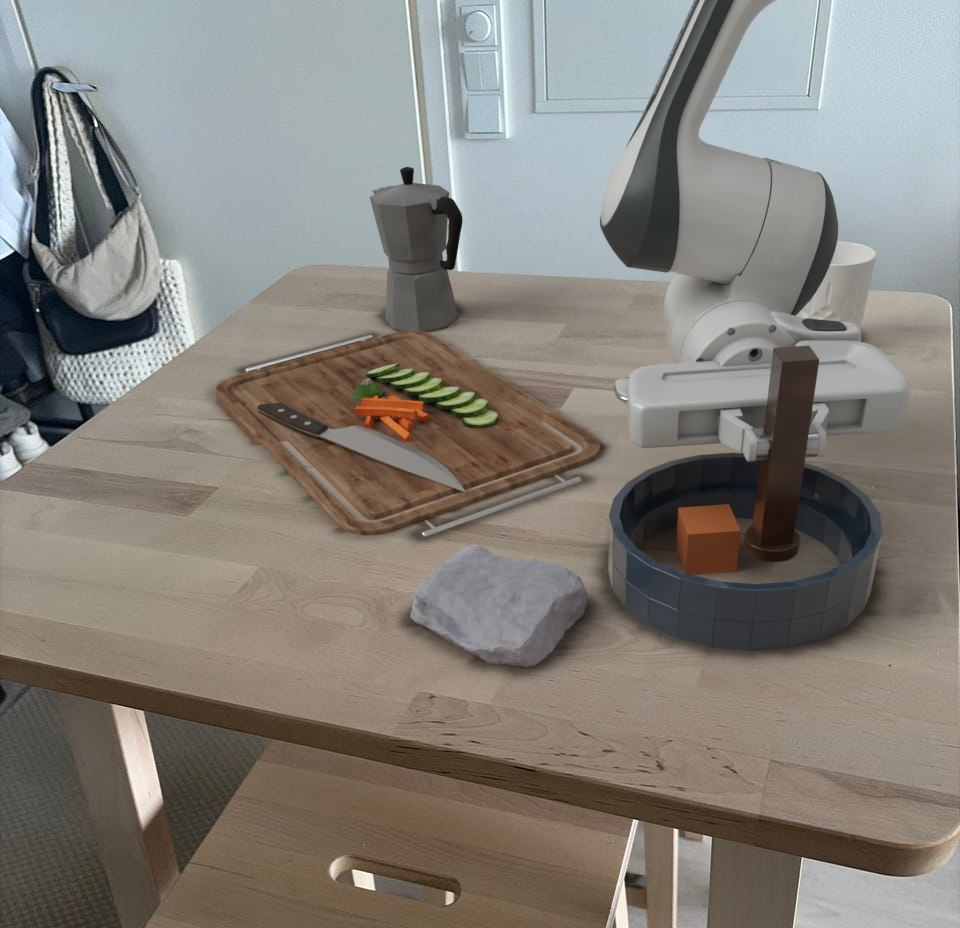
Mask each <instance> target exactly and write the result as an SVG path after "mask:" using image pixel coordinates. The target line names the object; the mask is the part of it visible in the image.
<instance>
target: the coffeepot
mask: <svg viewBox="0 0 960 928" xmlns="http://www.w3.org/2000/svg"><path fill="white" fill-rule="evenodd" d="M414 172H415V168H414V167H410V166H405V167H404V166H403V168H400V169H399V173H400V176H401V180H402V182H403V183H401V184H396V185H388V186H385V187H384V186H382V187H379V188H377V189H373V190H372V193H373V194H372V195H371V196H369V200H370V205H371V209H372V212H373V215H374V216H373V217H374V219H375V223H376V228H377V231H378V236H379V237H380V238H379V239H380V242H381V245H382V250H383V253H384V254H385V256H386V257H387V258H388V259H387V260H388V270H387V273H386V291H385V292H386V293H385V294H386V295H385V298H386V299H385V315H384V316H385V317H384V319H385V321H386V323H387V325H388V326H389V327H390V328H391V329H393V330H395V331H396V332H400V331H410V330H417V331H425V332H427V333H430V332H434V331H438V330H441V329H444V328H445V329H446V328H447V327H449V326H451V325H452V324H453V323H454V322H455V321H456V320H457V318H458V317H459V312H458V308H457V307H458V306H457V304H456V300H455V295H454V291H453V287H452V284H451V280H450V276H449V272H448V271H453V270H454V269H455V268H456V263H457V258H458V253H459V252H458V251H459V246H460V238H461V232H462V229H463V223H464V222H463V220H464V219H463V215H462V212H461V210H460V208H459V207H458V204H457V203H456V202H455V199H453V198H451V197H450V191H448V190H447V189H445V188H444V187H443V186H441V185H438V184H427V183H418V182H414V174H415V173H414ZM445 251H446V260H444V254H443V253H444V252H445Z"/></svg>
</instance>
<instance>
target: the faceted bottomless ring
mask: <svg viewBox="0 0 960 928" xmlns="http://www.w3.org/2000/svg"><path fill="white" fill-rule="evenodd" d="M759 467H760V461H747V460H746V458H745V456H744V454H743V452H722V453H706V454H697V455H692V456H687V457H682V458H678V459H673V460H670V461H669V460H668V461H666V462H664V463H661V464H659V465H656V466H653V467H650V468H648V469H646V470H644V471H642V472H641V473H640V474H638V475H636V476H635V477H633V478H632V479H630V480H629V481H627V482H626V483H624V485H623V486H622V488H621V489H620V490H619V491H618V492H617V494H616V495H615V496H614V497H613V498H612V502H611V506H610V510H609V513H608V563H607V564H608V568H607V569H608V571H607V573H608V576H609V581H610V585H611V590H612V592H613V593H614V595H616V597H617V598H618V600H619V601H620V603H621V604H622V606H623V607H624V608H625V609H626V610H627V611H628V612H629V613H631V614H632V615H634V616H635V617H636V618H637V619H639V620H640V621H642V622H643V623H644V624H646V625H647V626H649V627H651V628H653V629H656V630H658V631H660V632H662V633H665V634H666V635H668V636H670V637H673V638H675V639H678V640H682V641H684V642H690V643H693V644H698V645H701V646H705V647H710V648H714V649H715V648H716V649H725V650H737V651H738V650H739V651H748V652H749V651H752V652H753V651H767V650H781V649H782V650H783V649H790V648H794V647H798V646H801V645H805V644H810V643H813V642H817V641H820V640H823V639H824V638H826V637H828V636H831V635H832V634H835V633H837V632H839V631H841V630H842V629H845V628H846V627H847V626H849V625H850V623H852V622H853V621H854V620H855V619H856V618H858V616H859V615H860V614H861V613H862V612H863V611H864V610H865V608H866V605H867V602H868V600H869V598H870V596H871V593H872V589H873V583H874V578H875V574H876V569H877V564H878V559H879V555H880V549H881V543H882V539H883V534H884V531H883V523H882V522H883V521H882V515H881V513H880V511H879V510H878V508H877V507H876V505H875V503H874V502H873V501H872V499H871V498H870V497H869V495H867V494H866V493H865V492H863V490H861V489H860V488H859V487H857V486H856V484H854V483H852V482H851V481H850V480H848V479H846V478H844V477H842V476H840V475H838V474H836V473H834V472H832V471H830V470H829V469H826V468H823V467H820V466H818V465H817V466H816V465H814V464H810V463H807V462H805V463H804V469H803V476H802V483H801V490H800V497H799V504H798V511H797V517H796V524H795V530H796V531H797V532H798V531H799V532H801V533H804V534H805V535H807V536H809V537H811V538H812V539H814V540H816V541H817V542H818V543H821V544H822V545H824V546H825V547H826V548H827V549H828V550H829V551H830V552H832V554H834V556H836V557H837V559H838V561H839V563H840V564H841V565H838V566H837V567H835V568H832V569H830V570H828V571H826V572H824V573H821V574H817V575H813V576H809V577H805V578H800V579H797V580H792V581H781V582H767V583H765V582H764V583H748V582H747V583H746V582H734V581H733V582H732V581H720V580H716V579H711V578H707V577H703V576H698V575H690V574H685V573H684V571H681V570H678V569H676V568H673V567H671V566H668V565H666V564H663V563H661V562H658V561H657V560H655V559H654V558H652V557H651V556H649V555H648V554H646V553H645V552H643V551H642V550H641V548H642V546H643V544H645V543H646V542H648V541H649V540H650V539H652V538H653V537H654V536H657V534H659V533H661V532H663V531H666V530H668V529H671V528H673V527H675V526H676V527H677V523H678V508H682V507H696V506H710V505H724V504H729V505H730V507H731V510H732V512H733V514H734V516H735V519H749V520H750V519H751V520H753V519H754V510H755V502H756V493H757V484H758V476H759Z"/></svg>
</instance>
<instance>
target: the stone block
mask: <svg viewBox="0 0 960 928" xmlns="http://www.w3.org/2000/svg"><path fill="white" fill-rule="evenodd" d="M588 596H589V595H588V590H587V588H586V587H585V585H584V582H583V580H582V579H581V577H580V575H579V574H577V572H575V571H573V570H571V569H569V568H566V567H565V566H564V565H562V564H557V563H554V562H546V561H543V560H537V559H526V560H515V559H514V560H513V559H509V558H507V557H505V556H503V555H499V554H495V553H494V552H491V551H490V550H489V549H487V548H486V547H484V545H480V544H471V545H468V546H466V547H465V548H462V549H461V550H460V551H458V552H457V553H454V554H452V555H451V556H450V557H449V558H447V559H446V560H445V561H444V562H442V563H441V564H440V565H439V566H437V568H435V570H433V571H432V572H431V573H430V574H429V575H428V576H426V577H425V579H424V580H423V581H422V583H421V584H420V585H419V587H418V588H417V589H416V590H415V592H414V593H413V595H412V597H411V608H412V609H411V613H410V614H409V616H410V619H411V620H412V622H414V623H415V624H418V625H420V626H422V627H425V628H427V629H429V630H430V632H432V633H434V634H435V635H437V636H440V637H441V638H442V639H445V641H446V642H447V641H448V642H449V643H450V644H451V645H454V646H455V647H457V648H459V649H461V650H464V651H465V652H466V653H468V654H470V655H473V656H474V657H478V658H479V659H480V660H483V661H485V662H486V663H487V664H495V665H496V664H497V665H498V664H499V665H501V664H502V665H508V666H514V667H523V668H531V667H534V666H536V665H538V664H539V663H540V662H542V661H543V660H545V659H546V658H547V657H548V655H549V654H550V653H552V652H553V651H554V650H555V649H556V646H557V645H558V643H559V642H560V640H561V639H563V637H564V636H565V633H566V631H568V630H569V629H570V628H571V627H572V626H573V625H574V624H575V623H576V622H577V621H578V620H579V619H580V618H582V617H583V615H584V614H585V611H586V608H587V604H588Z"/></svg>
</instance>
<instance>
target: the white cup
mask: <svg viewBox="0 0 960 928" xmlns="http://www.w3.org/2000/svg"><path fill="white" fill-rule="evenodd" d="M877 254H878V253H877V251H876V250H875V249H873V248H872V247H871V246H868V245H865V244H861V243H856V242H851V241H837V245H836V249H835V252H834V255H833V258H832V261H831V263H830V266H829V269H828V271H827V273H826V275H825V277H824V279H823V281H822V283H821V285H820V286H819V288H818V290H817V291H816V293H815V294H814V296H813V297H812V299H811V300H810V301H809V302H808V303H807V305H806V306H805V307H804V308H803V309H802V310H801V311H800V312H799V313H798V314H797V315H796V316H798V317H802V318H808V319H819V320H830V321H840V322H850V323H853V324H856V325H857V326H858V327H859V328H860V329H861V323H862V322H863V318H864V315H865V309H866V305H867V302H868V298H869V293H870V288H871V282H872V280H873V279H872V278H873V274H874V269H875V265H876V260H877Z"/></svg>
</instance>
